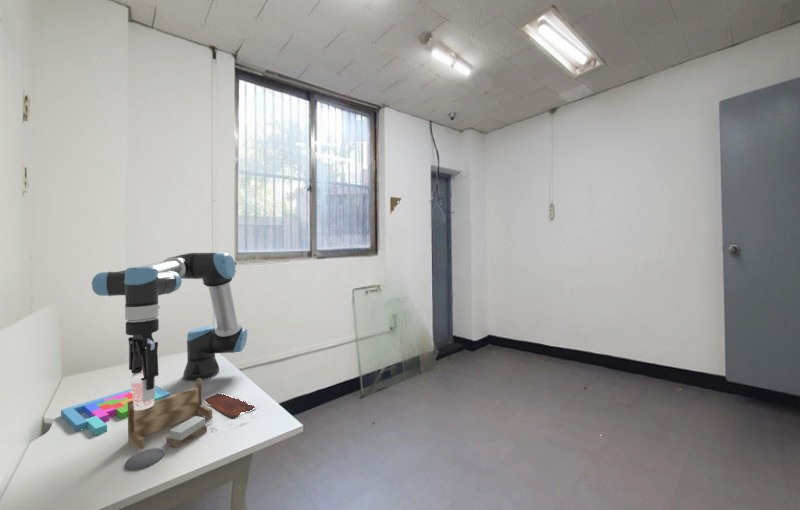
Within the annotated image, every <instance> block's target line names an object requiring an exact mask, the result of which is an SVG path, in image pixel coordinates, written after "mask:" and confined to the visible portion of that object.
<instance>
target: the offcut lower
mask: <svg viewBox="0 0 800 510" xmlns="http://www.w3.org/2000/svg"><path fill="white" fill-rule="evenodd" d="M207 426H208V425H207V424H206V425H205V426H203V427H202V428H200V429H198V430H197V431H195V432H194V433H192V434H190V435H189V436H187V437H186V438H184V439H182V440H176V439H172V438H170V435H168V436H166V438H165V439H166V440H165V441H166V442H165V444H166V445H168V446H170V447H171V448H174V449H176V448H178V447H180V446H181V445H184V444H185V443H188V442H190V441H191V440H193V439H196V438H197V437H200V436H201V435H203V434H205V433H207V431H208V430H207V429H208V427H207Z"/></svg>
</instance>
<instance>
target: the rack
mask: <svg viewBox="0 0 800 510" xmlns="http://www.w3.org/2000/svg"><path fill="white" fill-rule="evenodd" d="M195 381H196V382H195V383H196V384H195V387H193V388H190V389H187V390H186V389H185V390H183V391H182V392H178V393H175V394H171V395H170V396H169V397H166V398H163V399H161V400H158V401H155V402H154V405H153V406H152V407H150V408H148V409H144V410H134V405H133V401H129V402H128V417H127V434H128V435H127V436H128V438H127V439H128V443H129V444H131V445H132V446H134V447H135V448H136V449H137V450H139V451H141V450H143V449H144V448H145V438H144V437H146V436H148V435H151V434H153V433H154V434H155V433H156V432H158V431H162V429H165V428H168V427H170V426H172V425H175V424H178V423H179V422H182V421H186V420H188V418H189V419H190V418H192V417H194V416H196V414H197V415H200V414H201V416H202V415H203V417H204V416H205V417H204V418H206V417H207V418H206V419H208V420H210V419H212V418H213V409H211V408H210V407H208V406H205V405H203V404H202V402H203V401H202V399H203V398H202V396H203V395H202V393H203V392H202V380H201V378H198V379H196V380H195ZM198 413H199V414H198ZM191 416H192V417H191Z"/></svg>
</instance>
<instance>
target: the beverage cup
mask: <svg viewBox="0 0 800 510" xmlns="http://www.w3.org/2000/svg"><path fill="white" fill-rule="evenodd" d="M141 372H142V374H139V375H136V376H133V375H132V377H129V383H130V384H131V389H132V395H133V405H134V410H144V409H148V408H150V407H152V406H153V405H154V399H151V400H148V401H146V402H143V397H142V380H141V378H144V375H143V368H142V371H141ZM156 378H157V376H155V379H156Z"/></svg>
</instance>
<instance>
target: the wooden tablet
mask: <svg viewBox="0 0 800 510" xmlns="http://www.w3.org/2000/svg"><path fill="white" fill-rule="evenodd" d="M206 398H207V399H206ZM206 398H205V401H206V402H207V403H208V404H210V405H211V406H210V405H209V406H210V407H212V408H214V409H215V408H216V410H217V411H218V412H220V411H221V412H220V413H222V412H223V413H222V414H224V415H225V414H226V415H227V417H228V416H229V417H228V418H230V417H231V419H233V418H234V419H236V417H237V418H239V417H240V416H239V415H240V413H241V412H246V411H250V410H252V409H253V408H255V407H256V406H255V405H253V404H252V405H253V406H252V405H248V404H247V403H246V402H247V401H245V400H243V402H242V401H240V400H239V399H240V398H238V399H235V398H231V397H229V396H226V395H224V394H223V395H222V394H218V393H216V395H215V394H214V396H213V395H211V396H209V398H208V397H206ZM244 401H245V402H244ZM208 404H207V405H208ZM254 406H255V407H254ZM226 415H225V416H226ZM238 416H239V417H238Z"/></svg>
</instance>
